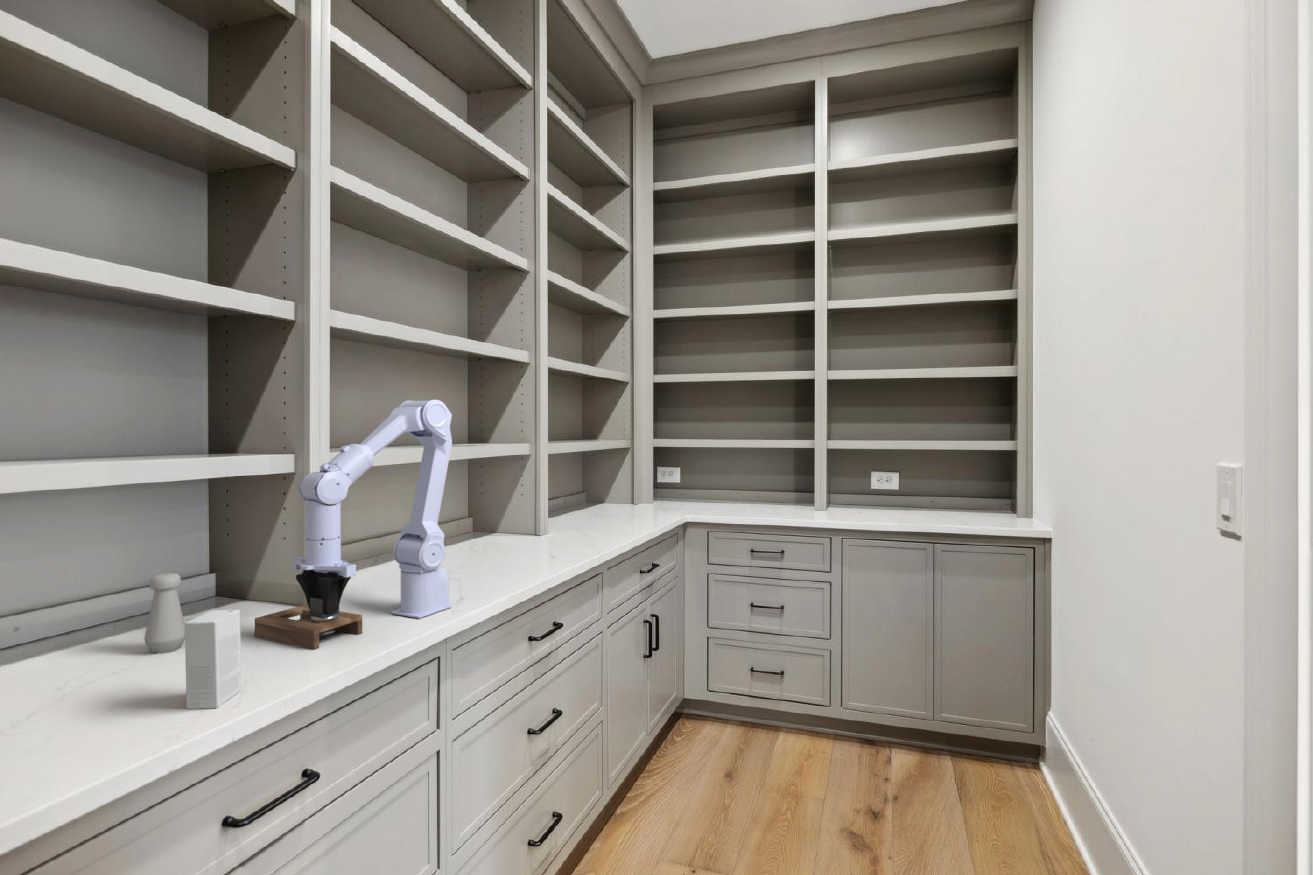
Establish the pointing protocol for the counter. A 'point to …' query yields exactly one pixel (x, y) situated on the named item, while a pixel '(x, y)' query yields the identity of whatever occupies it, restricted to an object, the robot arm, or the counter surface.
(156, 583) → the salt shaker
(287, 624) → the keyhole plate
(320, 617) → the dark grey key plug
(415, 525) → the robot arm
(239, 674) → the skincare box
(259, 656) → the counter surface
